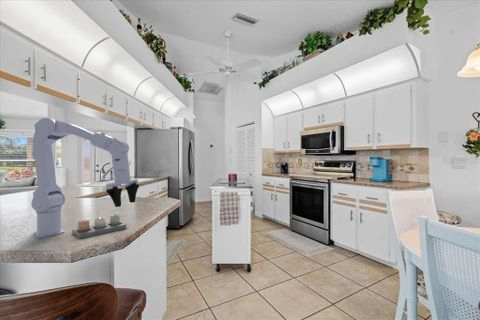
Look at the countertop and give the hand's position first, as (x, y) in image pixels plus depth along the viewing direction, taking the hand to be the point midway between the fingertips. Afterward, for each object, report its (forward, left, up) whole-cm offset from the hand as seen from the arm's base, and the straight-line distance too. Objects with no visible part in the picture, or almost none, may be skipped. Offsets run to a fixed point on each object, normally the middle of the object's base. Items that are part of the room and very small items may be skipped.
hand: (125, 204), depth 92 cm
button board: (-7, -7, -10) cm, 14 cm away
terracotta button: (-7, -12, -9) cm, 17 cm away
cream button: (-7, -7, -9) cm, 13 cm away
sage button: (-7, -1, -9) cm, 11 cm away
